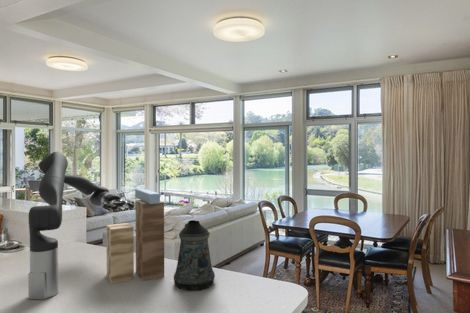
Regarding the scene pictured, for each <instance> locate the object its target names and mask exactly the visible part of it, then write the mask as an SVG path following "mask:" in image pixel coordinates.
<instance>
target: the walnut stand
mask: <svg viewBox="0 0 470 313" xmlns="http://www.w3.org/2000/svg"><path fill="white" fill-rule="evenodd" d="M134 209H135V273H136V274H137V276H139V278H142V279H141V280H142V281H143V282H144V280H145V281H149V280H154V279H155V280H156V279H161V278H164V277H165V201H162V200H160V203H156V204H149V203H147V202H145V201H142V200H140V199H137V200H134Z"/></svg>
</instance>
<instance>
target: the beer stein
mask: <svg viewBox="0 0 470 313" xmlns="http://www.w3.org/2000/svg"><path fill="white" fill-rule="evenodd" d="M178 237H179V240H180V243H179V248H178V249H179V250H178V251H179V252H178V257H177V263H176V268H175V272H174V274H173V280H174V282H173V283H174V286H175V287H176V288H177V289H179V290H181V291H185V292H201V291H205V290H208V289H210V288H211V287H212V286H213V285H214V281H215V277H216V274H215V271H214V269H213V266H212V260H211V254H210V253H211V252H210V246H209V237H210V231H209V230H208V229H207V228H206V227H204V226H203V225H202V224H200V220H189V221H188V222H187V223H185V225H184V227H183V228H182V230H180V231H179V233H178Z"/></svg>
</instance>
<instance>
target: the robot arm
mask: <svg viewBox="0 0 470 313" xmlns="http://www.w3.org/2000/svg"><path fill="white" fill-rule="evenodd" d="M68 165H69V164H68V159H67V157H66V156H65V155H64V154H63V153H62V152H61V151H53V152H51V153H50V154H48V155H47V156H46V157H45V158H43V159H41V161H39V163H38V168H39V170H40V171H41V172H42V173H43V174H44V175H43V176H42V178H41V179H40V182H39V186H38V194H39V196H40V198H41V199H42V200H43V201H45V203H46V204H47V205H36V206H32V207H30V208H29V211H28V216H27V217H28V233H29V272H28V274H27V275H28V300H46V299H48V298H51V297H53V296H56V295H57V294H58V293H59V242H58V239H56V238H54V237H50V236H47V235H44V234H42V232H43V231H45V232H46V231H54V230H57V229H60V227H61V225H62V221H63V197H64V188H65V185H68V186H70V187H72V188H74V189H75V190H77V191H79V192H81V193H82V194H83V195H85V196H89V197H90V198H89V202H90V203H91V204H92V205H94V206H98V207H100V206H101V208H102V209H104V210H110V211H116V210H118V209H120V208H123V209H126V208H130V210H131V209H132V210H133V209H135V200H134V201H133V200H131V199H127V200H124V199H122V198H121V197H120V196H119V195H117V194H116V193H112V192H110V191H109V189H108V188H107V187H105V186H102V185H98V184H96V183H94V182H92V181H90V180H89V179H88V178H86V177H84V176H82V175H76V174H75V175H74V174H67V173H66V172H67V168H68Z"/></svg>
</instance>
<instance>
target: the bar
mask: <svg viewBox="0 0 470 313" xmlns="http://www.w3.org/2000/svg"><path fill="white" fill-rule="evenodd" d="M134 190H135V192H134V196H135V198H136V199H137V200H142V201H145V202H147V203H149V204H156V203H160V201H161V193H159V192H156V191H152V190H149V189H146V188H135V189H134Z"/></svg>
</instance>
